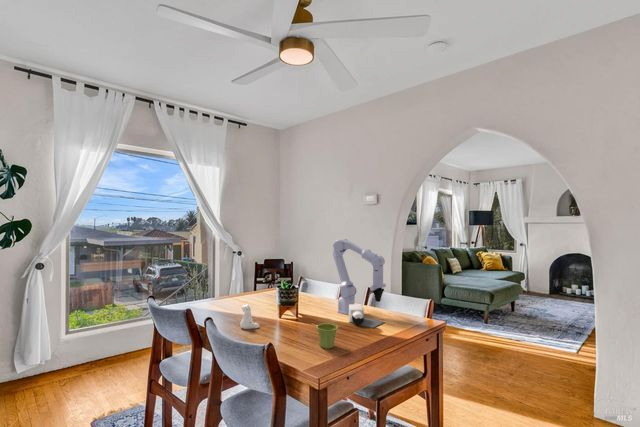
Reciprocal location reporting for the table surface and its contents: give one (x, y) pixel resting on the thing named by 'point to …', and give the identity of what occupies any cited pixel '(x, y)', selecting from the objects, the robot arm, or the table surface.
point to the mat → (370, 323)
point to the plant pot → (327, 335)
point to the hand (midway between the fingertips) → (378, 301)
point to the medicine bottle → (356, 313)
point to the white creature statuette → (247, 319)
